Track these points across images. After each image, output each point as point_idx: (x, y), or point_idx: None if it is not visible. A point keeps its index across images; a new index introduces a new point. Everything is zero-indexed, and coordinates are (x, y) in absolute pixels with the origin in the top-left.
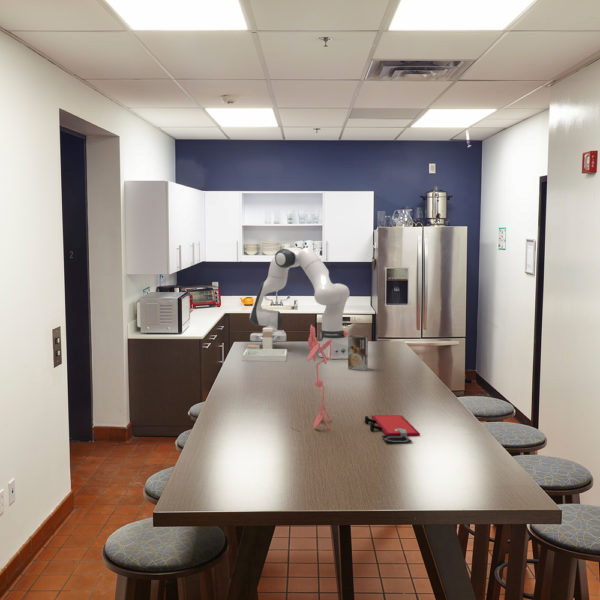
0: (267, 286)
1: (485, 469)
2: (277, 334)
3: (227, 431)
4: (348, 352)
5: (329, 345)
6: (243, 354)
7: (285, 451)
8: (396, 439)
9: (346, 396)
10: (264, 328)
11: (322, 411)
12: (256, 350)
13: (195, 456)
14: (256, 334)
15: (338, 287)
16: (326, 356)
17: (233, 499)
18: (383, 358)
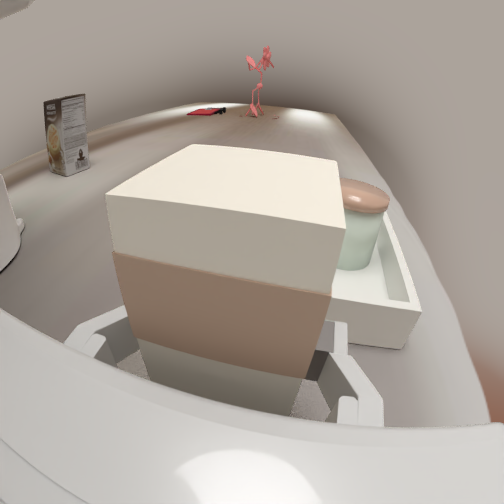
0: None
1: (197, 105)
2: (19, 366)
3: (323, 122)
4: (86, 129)
5: (4, 185)
6: (384, 213)
7: (286, 113)
8: (218, 108)
9: (200, 125)
10: (310, 175)
11: (257, 103)
12: None
13: (334, 119)
14: (445, 447)
15: None
16: (18, 231)
17: (310, 111)
18: None
